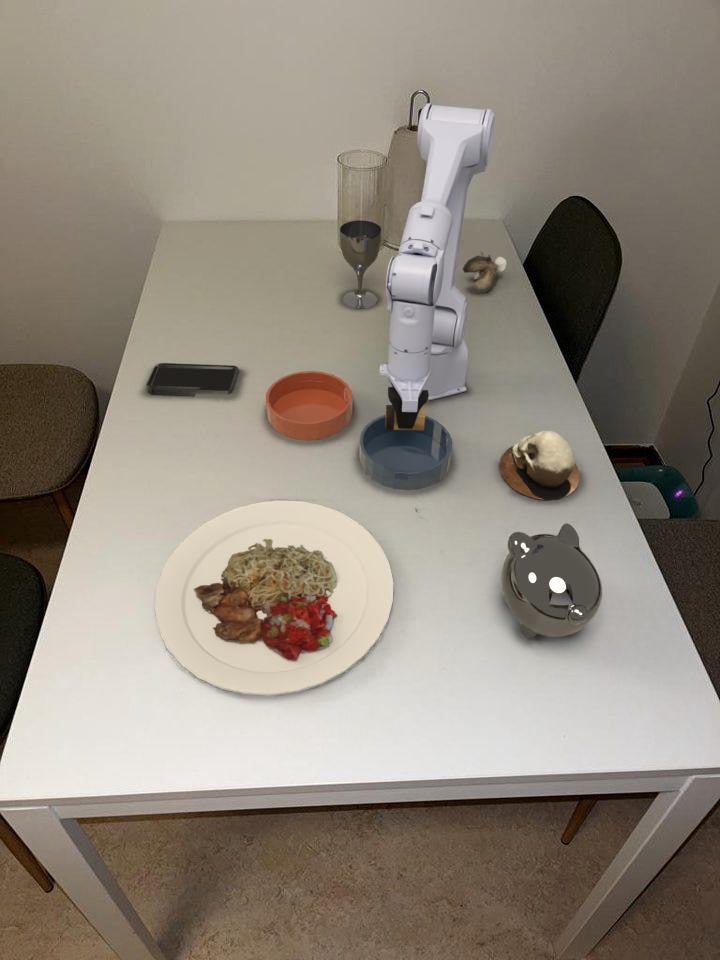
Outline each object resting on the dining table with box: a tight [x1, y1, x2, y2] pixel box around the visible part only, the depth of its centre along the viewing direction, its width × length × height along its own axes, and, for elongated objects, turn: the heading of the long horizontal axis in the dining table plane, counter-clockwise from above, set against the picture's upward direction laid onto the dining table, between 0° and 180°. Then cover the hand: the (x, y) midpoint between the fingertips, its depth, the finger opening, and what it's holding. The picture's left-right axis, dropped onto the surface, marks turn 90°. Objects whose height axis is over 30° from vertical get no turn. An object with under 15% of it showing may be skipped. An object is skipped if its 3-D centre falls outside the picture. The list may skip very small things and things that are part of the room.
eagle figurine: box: [462, 250, 507, 294], centre depth 145 cm, size 8×7×9 cm
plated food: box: [154, 499, 394, 697], centre depth 87 cm, size 30×30×3 cm
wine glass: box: [339, 219, 382, 310], centre depth 137 cm, size 8×8×15 cm
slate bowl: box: [358, 414, 454, 491], centre depth 106 cm, size 14×14×4 cm
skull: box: [499, 430, 581, 501], centre depth 104 cm, size 12×10×10 cm
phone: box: [145, 362, 240, 397], centre depth 121 cm, size 8×1×15 cm
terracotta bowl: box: [265, 370, 353, 441], centre depth 113 cm, size 14×14×4 cm
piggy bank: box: [500, 523, 603, 639], centre depth 83 cm, size 11×15×12 cm
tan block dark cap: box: [385, 404, 426, 430], centre depth 101 cm, size 6×3×3 cm, turn 89°
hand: (405, 420), depth 102 cm, fingers closed on tan block dark cap, 2 cm apart
